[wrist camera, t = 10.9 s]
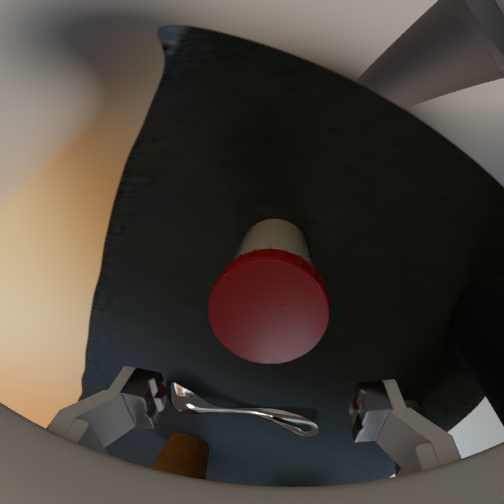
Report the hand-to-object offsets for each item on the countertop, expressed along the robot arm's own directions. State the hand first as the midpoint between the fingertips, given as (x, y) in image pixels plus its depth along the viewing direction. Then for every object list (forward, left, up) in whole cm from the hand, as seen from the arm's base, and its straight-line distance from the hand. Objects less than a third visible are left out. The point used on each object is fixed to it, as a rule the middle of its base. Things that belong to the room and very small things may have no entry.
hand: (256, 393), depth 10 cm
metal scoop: (+18, +10, -17) cm, 27 cm away
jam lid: (0, 0, -6) cm, 6 cm away
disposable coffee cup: (+32, +10, -17) cm, 38 cm away
